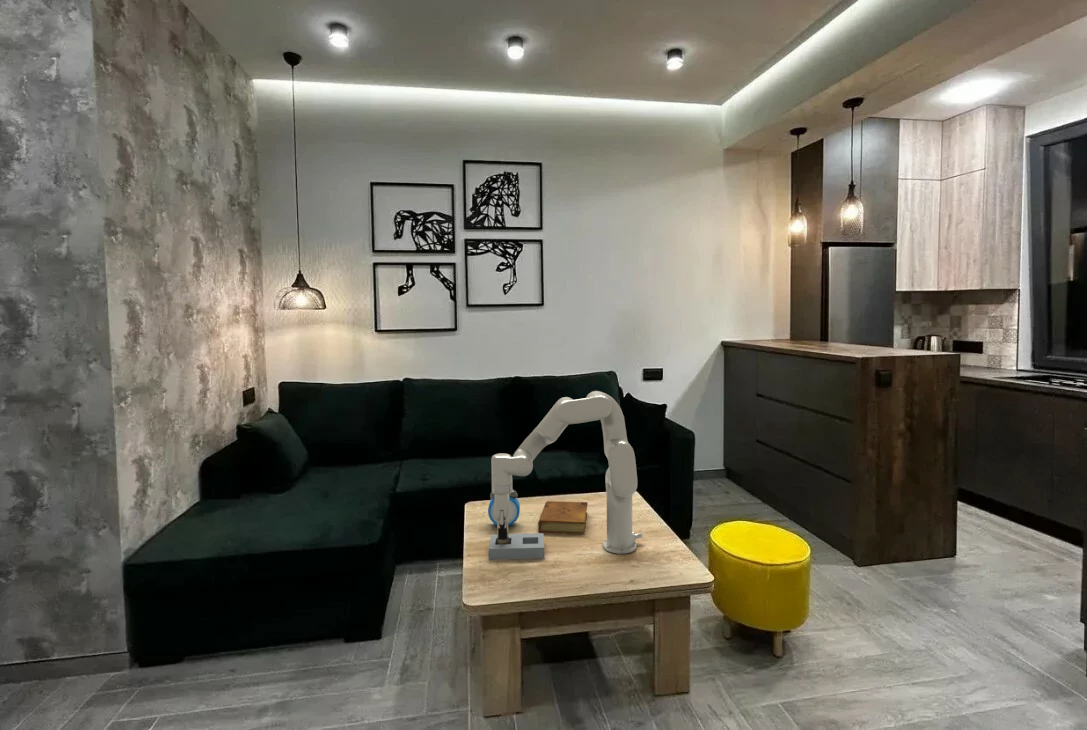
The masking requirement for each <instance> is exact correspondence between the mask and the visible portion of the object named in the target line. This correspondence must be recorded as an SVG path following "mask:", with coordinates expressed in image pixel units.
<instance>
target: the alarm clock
mask: <svg viewBox="0 0 1087 730" xmlns="http://www.w3.org/2000/svg"><path fill="white" fill-rule="evenodd" d="M489 495H490V496H489V497H490V501H489V503H488V508H487V514H488V518H489V520H490V521H491V522H492V523H493V524H494V525H495V527H497V520H496V521H495V520H494V518H495V508H494V500H495V494H494V493H492V491H491V492H490V494H489ZM517 497H518V493H517V491H516V490H515V489H512V492H511V493H509V514H508V527H509V526H511V527H513V524H515V522H517V520H518V519H519V517H520V509H521V505H520V502H519V499H518V498H517Z"/></svg>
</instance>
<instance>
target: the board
mask: <svg viewBox="0 0 1087 730" xmlns="http://www.w3.org/2000/svg"><path fill="white" fill-rule="evenodd" d="M544 534H545V533H539V532H537V533H508V536H509V538H508V544H502V545H498V539H497V536H498V533H497V534H495V533H494V534H490V540H489V544H488V560H489V561H490V560H491V561H493V560H494V561H495V560H497V561H498V560H521V559H522V560H529V559H530V560H532V559H533V560H535V559H534V558H537V559H545V540H544V539H545V535H544Z"/></svg>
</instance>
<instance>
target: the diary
mask: <svg viewBox="0 0 1087 730" xmlns="http://www.w3.org/2000/svg"><path fill="white" fill-rule="evenodd" d="M588 504H589V502H588V501H586V502H583V501H562V500H561V501H558V500H557V501H556V500H551V501H550V500H546V502H545V503H544V506H543V509H542V512H541V514H540V516H539V519H538V522H537V524H538V525H537V526H538V527H537V529H538V532H537V533H544V534H564V533H565V534H569V535H574V534H575V535H585V533H586V527H587V522H586V521H587V520H588V515H587V514H588V512H587V511H588Z"/></svg>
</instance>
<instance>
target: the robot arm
mask: <svg viewBox="0 0 1087 730" xmlns="http://www.w3.org/2000/svg"><path fill="white" fill-rule="evenodd" d="M593 421H600V423H601V430H602V437H603V451H604V455H605V456H606V458H607V461H608V468H607V469H606V472H605V482H604V483H605V491H606V493H605V494H606V539H605V540H603V542H602V548H603V549H604V550H605V551H607V552H609V553H613V554H619V555H622V554H629V553H633V552H634V551H637V549H638V547H637V543H636V542H635V541H636V540H637V539H638V540H639V539H641V538H643V534H642V532H637V533H635V531H633V495H634V494H635V492H636V491H637V489H638V475H637V474H638V473H637V464H636V462H637V461H636V456H635V451H634V448H633V446H631V444H630V443H629V441H628V436H627V429H626V422H625V421H626V420H625V416H624V414H623V411H622V408H621V407H620V405H619V403H618V402H617V401H616V400H615V399H614V398H613V397H612V396H610V395H609V394H607V393H605V392H603V391H599V390H594V391H593V390H592V391H591V392H590V393H589V392H588V394H587V395H586V397H585V398H579V399H578V398H577V399H573V398H571V397H568V396H565V397H561V398H559V399H558V400H557V401H556V402H555V404H553V406H552V408H550V410H549V411H548V412H547V414H546V415H545V416H544V417H543V419H542V420H541V421H540V422H539V424H538V425H537V426H536V427H535V428H534V429H533V430H532V432H531V433H529V435H528V436H527V437H526V438H525V439H524V440H523V442H522V443H521V444H520V445H519V446H518V448H517V449H516V450H515V451H514V453H513V456H511V454H509V453H505V452H504V453H501V452H500V453H496V454H493V455H492V456H491V461H490V462H491V492H492V493H494V494H495V500H494V508H495V518H494V520H495V521H496V520H498V518H499V520H498V521H499V528H498V533H497V534H498V538H499V539H507V528H506V521H507V520H508V514H509V493H511V492H512V490H513V476H518V477H526V476H528V475H530V474H531V473H532V471H533V469H534V463H533V461H534V460H535V459H536V457H537V456H538V454H540V453H541V451H543V449H544V448H545V447H547V446H548V445H550V444H552V443H555V442H556V441H557V440H558V438H559V437H560V436H561V434H562V433H563V432H564V430H565V429H566V428H567V427H568V426H569V425H575V424H582V423H588V422H593ZM504 518H505V519H504ZM504 522H505V523H504Z"/></svg>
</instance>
